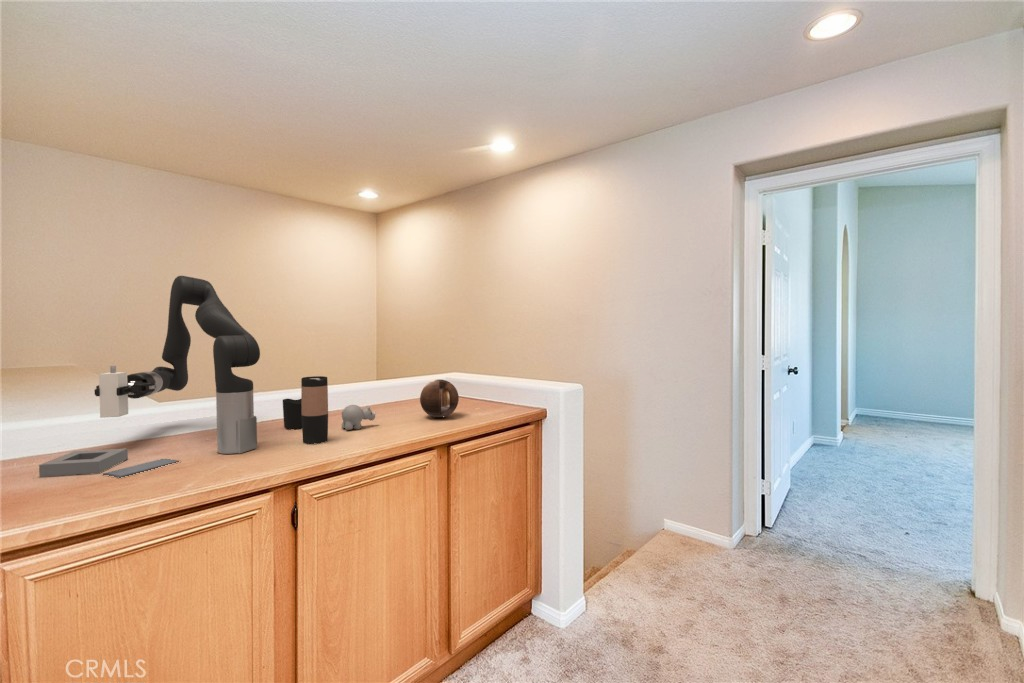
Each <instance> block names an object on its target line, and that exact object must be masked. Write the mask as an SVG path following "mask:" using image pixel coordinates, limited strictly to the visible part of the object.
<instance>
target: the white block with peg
mask: <svg viewBox="0 0 1024 683" xmlns="http://www.w3.org/2000/svg"><path fill="white" fill-rule="evenodd" d="M109 370H110V372H102V373H98V385H99V388H100V396H99V415H100V416H99V418H101V419H102V418H121V417H123V416H126V415H129V397H128V394H125V395H121V396H117V388H119V387H124V386H127V385H128V384H127V375H128V371H121V372H120V371H119V372H118V371H117V366H116V365H109Z"/></svg>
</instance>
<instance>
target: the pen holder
mask: <svg viewBox="0 0 1024 683" xmlns="http://www.w3.org/2000/svg"><path fill="white" fill-rule="evenodd" d="M282 413H283V414H282V416H283V427H284V429H285V428H286V430H291V429H294V430H302V429H301V428H302V404H301V398H299V399H292V398H284V399H282Z"/></svg>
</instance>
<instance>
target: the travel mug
mask: <svg viewBox="0 0 1024 683" xmlns="http://www.w3.org/2000/svg"><path fill="white" fill-rule="evenodd" d="M300 383H301V384H300V386H301V388H300V389H301V397H300V399H301V404H302V429H301V431H302V432H301V433H302V443H303V444H304V443H307V444H306V445H315V444H314V443H319V444H322V443H321V442H324V443H326V442H328V440H329V439H328V438H329V436H328V435H329V392H328V391H329V390H328V386H329V385H328V384H329V383H328V377H327V376H323V375H322V376H320V375H317V376H314V375H313V376H304V377H301V381H300ZM325 441H326V442H325Z"/></svg>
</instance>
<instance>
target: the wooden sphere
mask: <svg viewBox="0 0 1024 683" xmlns="http://www.w3.org/2000/svg"><path fill="white" fill-rule="evenodd" d="M459 400H460V398H459V393H458V389H457V388H456V387H455V385H454V384H453V383H451V382H450V381H449V380H446V379H433V380H432V381H429V382H428V383H426V385H425V386H423V388H422V390H421V392H420V396H419V403H420V406H421V408H422V410H423V412H424V413H426V414H427V415H428V416H430V417H432V416H433V417H432V418H435V417H443V416H446V417H448V416H450V415H452V414H453V413H454V411H455V410H456V409H457V407H458V404H459ZM443 418H444V417H443Z"/></svg>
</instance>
